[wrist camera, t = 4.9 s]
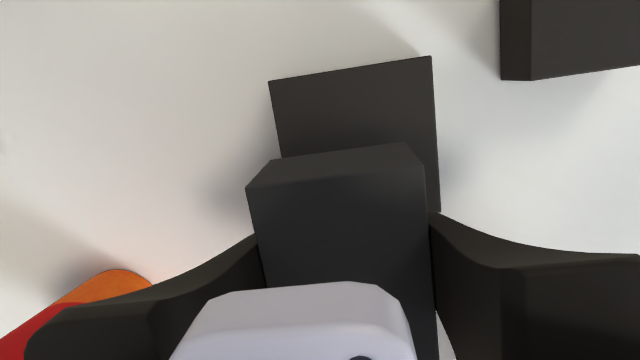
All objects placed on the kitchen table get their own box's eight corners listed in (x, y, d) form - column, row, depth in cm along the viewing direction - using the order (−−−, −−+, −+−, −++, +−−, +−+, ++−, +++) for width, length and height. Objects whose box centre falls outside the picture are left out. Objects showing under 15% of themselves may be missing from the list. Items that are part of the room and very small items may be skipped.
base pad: (434, 201, 21) (441, 212, 19) (298, 216, 22) (294, 228, 20) (424, 56, 18) (431, 55, 17) (274, 80, 19) (267, 81, 18)
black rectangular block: (419, 297, 14) (440, 363, 11) (299, 307, 15) (285, 373, 12) (404, 141, 13) (424, 164, 9) (270, 159, 13) (243, 187, 10)
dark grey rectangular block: (614, 63, 18) (670, 60, 15) (500, 80, 18) (529, 81, 15) (621, -37, 17) (683, -62, 14) (498, -15, 17) (531, -35, 14)
